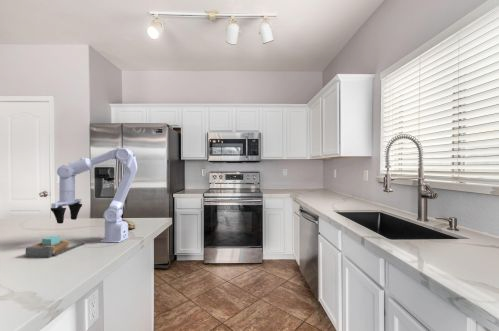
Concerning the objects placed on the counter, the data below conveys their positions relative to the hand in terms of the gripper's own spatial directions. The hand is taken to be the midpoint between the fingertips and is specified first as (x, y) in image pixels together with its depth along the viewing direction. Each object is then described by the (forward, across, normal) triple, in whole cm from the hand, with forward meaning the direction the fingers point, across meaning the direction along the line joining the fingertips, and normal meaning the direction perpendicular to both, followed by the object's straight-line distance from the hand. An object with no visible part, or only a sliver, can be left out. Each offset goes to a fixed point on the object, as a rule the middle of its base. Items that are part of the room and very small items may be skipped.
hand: (67, 221), depth 111 cm
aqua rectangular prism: (+10, +12, +3) cm, 16 cm away
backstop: (+10, +9, +3) cm, 14 cm away
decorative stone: (+10, -28, +11) cm, 32 cm away
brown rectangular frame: (+10, +12, +3) cm, 16 cm away
